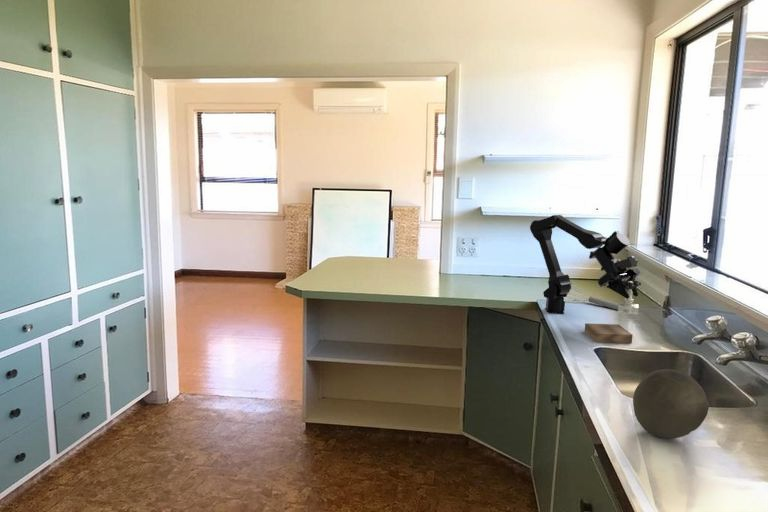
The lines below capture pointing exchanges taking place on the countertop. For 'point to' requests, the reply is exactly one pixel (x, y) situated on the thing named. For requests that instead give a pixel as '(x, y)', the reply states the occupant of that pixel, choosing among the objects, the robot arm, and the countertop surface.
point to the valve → (629, 299)
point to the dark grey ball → (669, 404)
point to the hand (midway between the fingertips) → (632, 296)
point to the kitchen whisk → (598, 301)
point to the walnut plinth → (608, 333)
